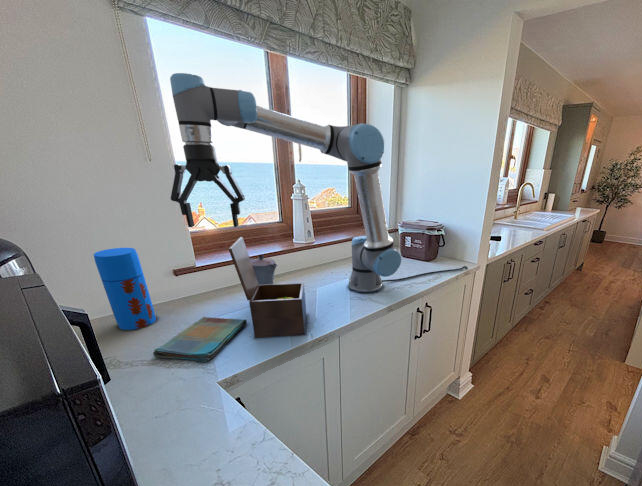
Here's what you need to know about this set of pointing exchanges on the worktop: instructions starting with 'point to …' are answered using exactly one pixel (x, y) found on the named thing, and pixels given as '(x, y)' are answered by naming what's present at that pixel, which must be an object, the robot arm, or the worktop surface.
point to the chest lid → (244, 267)
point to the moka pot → (264, 269)
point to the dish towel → (201, 339)
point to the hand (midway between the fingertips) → (214, 226)
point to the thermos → (125, 287)
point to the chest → (278, 310)
